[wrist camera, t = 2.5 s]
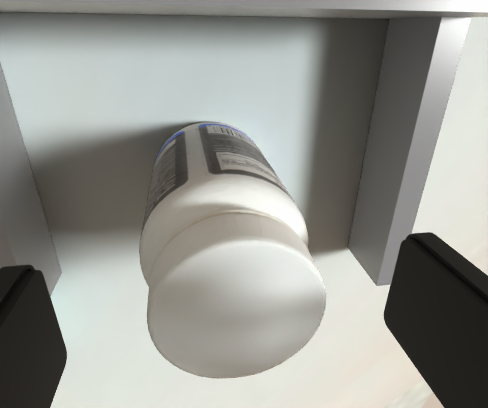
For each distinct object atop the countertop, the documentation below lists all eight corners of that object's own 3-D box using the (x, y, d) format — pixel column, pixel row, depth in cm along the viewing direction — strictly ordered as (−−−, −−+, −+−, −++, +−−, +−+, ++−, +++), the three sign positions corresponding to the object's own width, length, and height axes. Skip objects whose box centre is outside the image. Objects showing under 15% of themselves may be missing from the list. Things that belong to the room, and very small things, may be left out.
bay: (-62, -28, 10) (-315, -84, 5) (419, -12, 13) (588, -39, 7) (38, 274, 16) (-35, 400, 10) (365, 246, 18) (442, 336, 13)
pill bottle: (182, 236, 16) (184, 415, 9) (132, 145, 14) (76, 284, 6) (277, 198, 16) (360, 347, 8) (243, 101, 14) (317, 189, 6)
